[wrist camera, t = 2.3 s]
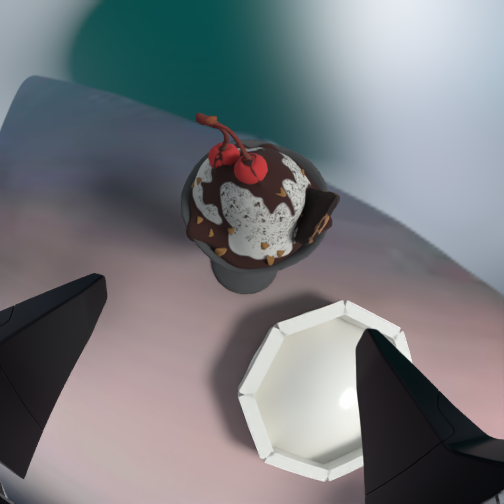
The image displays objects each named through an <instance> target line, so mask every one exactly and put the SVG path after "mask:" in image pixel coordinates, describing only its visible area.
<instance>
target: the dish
mask: <svg viewBox="0 0 504 504" xmlns="http://www.w3.org/2000/svg"><path fill="white" fill-rule="evenodd" d="M273 326H274V327H271V328H269V330H268V332H267V334H266V336H265V338H264V340H263V342H262V344H261V345H260V347H259V348H258V350H257V351H256V353H255V354H254V356H253V358H252V360H251V362H250V364H249V367H248V369H247V372H246V374H245V375H244V377H243V379H242V381H241V383H240V385H239V386H238V391H239V392H237V393H238V398H239V401H240V404H241V407H242V410H243V412H244V416H245V419H246V423H247V426H248V428H249V430H250V432H251V435H252V437H253V440H254V443H255V445H256V448H257V451H258V453H259V456H260V458H261V459H263V460H264V463H267V464H270V465H272V466H275V467H278V468H281V469H284V470H287V471H290V472H293V473H296V474H299V475H302V476H306V477H309V478H312V479H316V480H320V481H323V482H325V481H326V479H328V480H329V481H332V480H334V479H336V478H339V477H341V476H343V475H345V474H348V473H350V472H352V471H354V470H356V469H358V468H360V467H362V466H364V465H363V451H362V438H361V427H360V417H359V408H358V400H357V390H356V357H355V350H356V345H357V343H358V342H359V340H360V338H361V336H362V334H363V332H364V330H365V329H367V328H372V329H377V330H379V331H380V332H381V333H382V334H383V335H384V336H385V337H386V338H387V339H388V340H389V341H390V342H391V343H392V344H393V345H394V346H395V347H396V348H397V349H398V350H399V351H400V352H401V353H402V354H403V355H404V356H405V357H406V358H407V359H408V360H409V361H410V362H411V363H412V359H411V355H410V352H409V348H408V345H407V342H406V338H405V335H404V332H403V331H402V332H399V331H400V327H398V326H396V325H394V324H392V323H390V322H388V321H387V320H385V319H383V318H381V317H379V316H377V315H375V314H373V313H371V312H369V311H367V310H365V309H363V308H361V307H360V306H358V305H356V304H354V303H352V302H350V301H345V302H343V300H342V301H339V302H336V303H334V304H331V305H328V306H326V307H323V308H320V309H317V310H313V311H309V312H306V313H304V314H301V315H299V316H296V317H294V318H291V319H288V320H285V321H282V322H279V323H277V324H275V325H273ZM412 364H413V363H412Z"/></svg>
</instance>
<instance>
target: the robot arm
mask: <svg viewBox="0 0 504 504" xmlns="http://www.w3.org/2000/svg"><path fill="white" fill-rule="evenodd" d="M106 300H107V289H106V280H105V277H104V276H103V275H100V274H96V273H93V274H90V275H87V276H85V277H82V278H80V279H77V280H75V281H72V282H70V283H67V284H65V285H62V286H60V287H57V288H55V289H52V290H50V291H47V292H45V293H43V294H40V295H38V296H35V297H33V298H30V299H28V300H26V301H23V302H21V303H19V304H16V305H15V306H11V307H9V308H7V309H4V310H2V311H0V463H1V464H2V465H4V466H5V467H6V468H8V469H9V470H11V471H12V472H13V473H15V474H16V475H18V476H19V477H21V478H22V479H24V478H25V476H26V473H27V470H28V467H29V465H30V462H31V460H32V457H33V455H34V452H35V450H36V447H37V445H38V442H39V440H40V437H41V435H42V433H43V430H44V428H45V425H46V423H47V421H48V419H49V417H50V414H51V412H52V410H53V408H54V406H55V404H56V402H57V399H58V397H59V395H60V393H61V391H62V389H63V387H64V385H65V383H66V381H67V379H68V377H69V375H70V373H71V371H72V370H73V368H74V366H75V364H76V362H77V360H78V358H79V356H80V355H81V353H82V351H83V349H84V347H85V345H86V344H87V342H88V340H89V338H90V336H91V334H92V332H93V330H94V328H95V325H96V323H97V321H98V318H99V316H100V314H101V312H102V309H103V307H104V305H105V303H106ZM355 357H356V390H357V400H358V408H359V417H360V427H361V438H362V451H363V465H364V484H365V504H504V440H502V439H496V438H493V437H490V436H489V435H487V434H486V433H484V432H483V431H482V430H481V429H480V428H479V427H478V426H476V425H475V424H474V423H473V422H472V421H471V420H470V419H468V418H467V417H466V416H465V415H464V414H463V413H462V412H461V411H460V410H458V409H457V408H456V407H455V406H454V405H453V404H452V403H451V402H450V401H449V400H448V399H447V398H446V397H445V396H444V395H443V394H442V393H441V392H440V391H438V389H437V388H436V387H435V386H434V385H433V384H432V383H431V382H430V381H429V380H428V379H427V378H426V377H425V376H424V375H423V374H422V373H421V372H420V371H419V370H418V369H417V368H416V367H415V366H414V365H413V364H412V363H411V362H410V361H409V360H408V359H407V358H406V357H405V356H404V355H403V354H402V353H401V352H400V351H399V350H398V349H397V348H396V347H395V346H394V345H393V344H392V343H391V342H390V341H389V340H388V339H387V338H386V337H385V336H384V335H383V334H382V333H381V332H380V331H379V330H377V329H372V328H367V329H365V330H364V332H363V334H362V336H361V338H360V340H359V342H358V343H357V345H356V350H355ZM0 504H15V503H13V502H12V501H10V500H9V499H8V498H6V497H5V494H4V491H3V489H2V486H1V482H0Z"/></svg>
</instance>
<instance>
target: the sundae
mask: <svg viewBox="0 0 504 504" xmlns="http://www.w3.org/2000/svg"><path fill="white" fill-rule="evenodd" d="M196 122H197V123H199V124H202V125H207V126H210V127H213V128H216V129H220V131H221V132H222V133H223V135H224V141H223V142H222V143H219V144H217V145H216V146H214V147H213V148H212V149H211V150H210V152H209V153H208V154H206V155H205V156H204V157H203V158H202V159H201V160H200V161H199V162H198V163H197V164H196V165H195V167H194V168H193V170H192V171H191V173H190V175H189V176H188V178H187V181H186V183H185V185H184V188H183V191H182V195H181V212H182V217H183V220H184V222H185V225H186V234H187V237H188V238H189V239H190V240H191V241H194V242H195V243H196V244H197V245H198V247H199V248H200V249H201V250H202V251H203V252H204V253H205V254H206V255H207V256H208V257H209V258H210V259H211V260H212V261H213V270H214V272H215V275H216V277H217V278H218V280H219V282H220V283H221V284H222V285H223V286H225V287H226V288H227V289H229V290H231V291H233V292H236V293H240V294H252V293H256V292H259V291H261V290H263V289H265V288H266V287H267V286H268V285H269V284H270V283H271V282H272V281H273V280H274V278H275V276H276V274H277V271H278V270H282V269H284V268H286V267H289V266H291V265H293V264H296V263H297V262H299V261H301V260H302V259H304V258H306V257H308V256H309V255H310V254H311V253H312V252H313V251H314V250H315V249H316V248H317V247H318V246H319V244H320V243H321V242H322V240H323V239H324V237H325V234H326V232H327V229H329V228H330V227H331V226H332V219H331V217H330V216H331V214H332V212H333V210H334V209H335V207H336V206H337V204H338V203H339V201H340V196H339V195H338V194H336V193H333V192H329V191H328V189H327V185H326V183H325V181H324V179H323V177H322V176H321V174H320V172H319V171H318V170H317V168H316V167H315V166H314V165H313V164H312V163H311V162H310V161H309V160H307V159H306V158H305V157H303V156H302V155H300V154H298V153H296V152H294V151H292V150H290V149H287V148H284V147H281V146H278V145H274V144H271V143H267V142H264V141H258V140H239V139H238V137H237V136H236V135H235V134H234V132H233V131H232V130H230V129H229V128H227V127H226V126H224V125H222V124H220V123H218V122H217V117H216V116H205V115H203V114H201V113H198V114H196ZM227 132H228V133H229V134H230V135H231V136H232V138H233V139H234V140H235V141H231V142H229V136H228V133H227Z"/></svg>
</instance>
